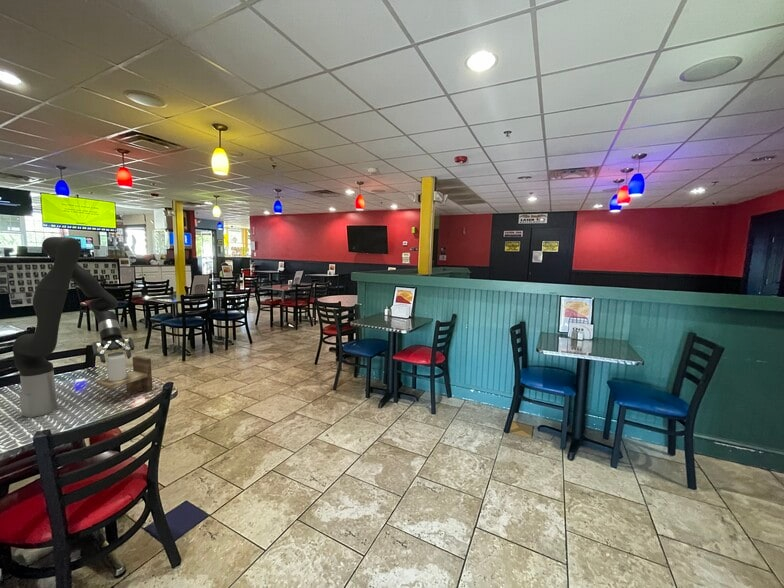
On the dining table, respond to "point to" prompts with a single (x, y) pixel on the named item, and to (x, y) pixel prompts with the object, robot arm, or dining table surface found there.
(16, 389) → the dining table surface
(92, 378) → the dining table surface
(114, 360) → the can
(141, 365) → the wooden l-shaped bracket
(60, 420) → the dining table surface
